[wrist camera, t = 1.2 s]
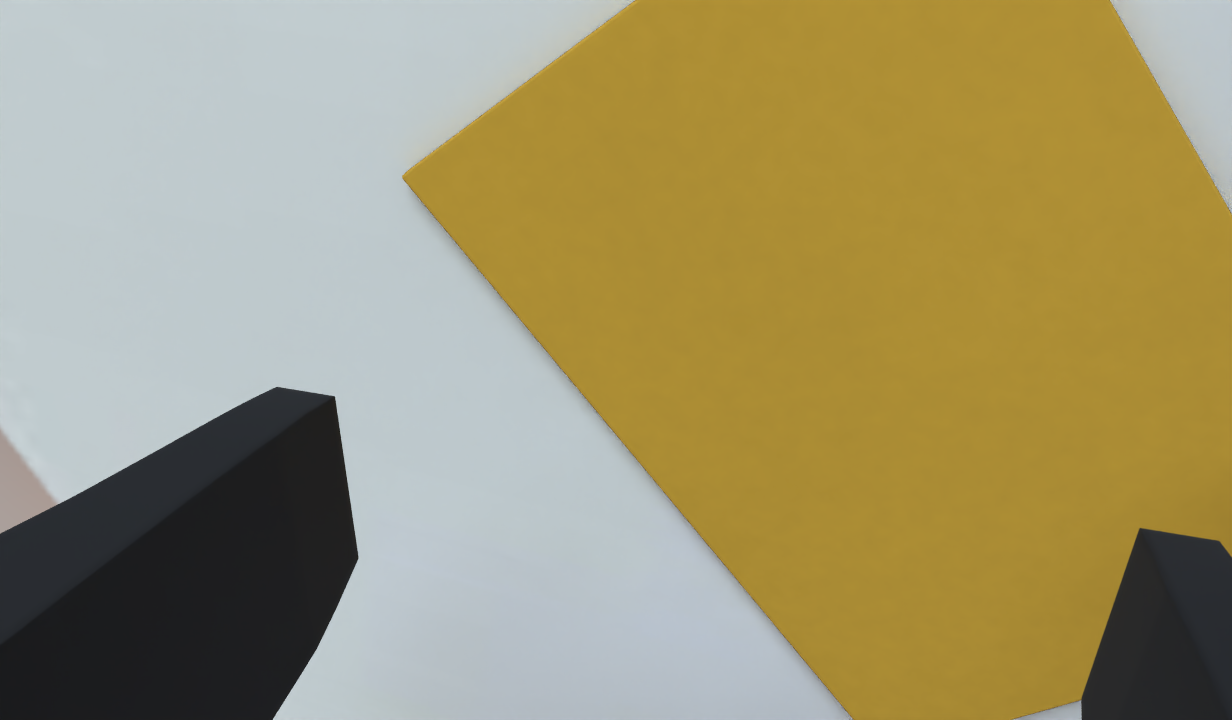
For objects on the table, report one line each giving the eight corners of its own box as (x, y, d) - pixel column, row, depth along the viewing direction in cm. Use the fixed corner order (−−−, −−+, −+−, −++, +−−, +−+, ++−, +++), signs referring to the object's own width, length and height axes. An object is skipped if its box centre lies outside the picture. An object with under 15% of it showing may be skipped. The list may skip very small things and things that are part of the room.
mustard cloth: (1442, 585, 20) (1449, 597, 20) (884, 745, 25) (883, 756, 25) (967, -249, 15) (967, -247, 15) (407, 170, 21) (400, 177, 20)
